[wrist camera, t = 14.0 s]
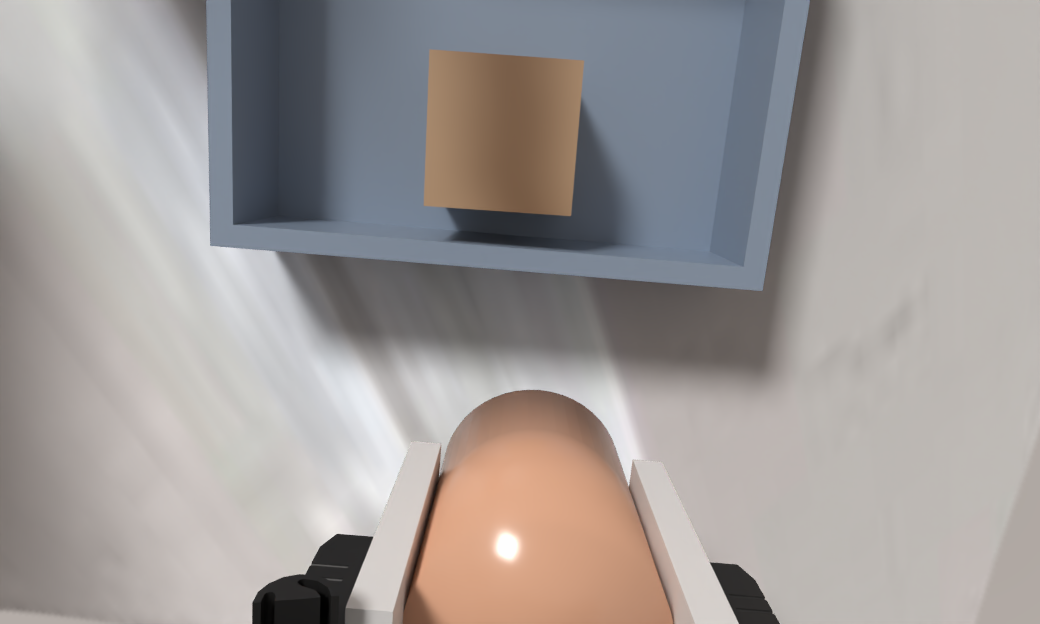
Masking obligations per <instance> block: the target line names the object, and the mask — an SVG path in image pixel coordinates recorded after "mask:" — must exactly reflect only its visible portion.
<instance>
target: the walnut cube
mask: <svg viewBox="0 0 1040 624" xmlns="http://www.w3.org/2000/svg"><path fill="white" fill-rule="evenodd" d="M583 69H584V60H570V59H557V58H543V57H529V56H515V55H501V54H487V53H473V52H460V51H446V50H432V49H429V76H428V103H427V129H426V156H425V183H424V206H432V207H447V208H461V209H475V210H489V211H504V212H518V213H532V214H547V215H561V216H571V211H572V199H573V187H574V175H575V163H576V152H577V140H578V128H579V116H580V104H581V92H582V81H583Z"/></svg>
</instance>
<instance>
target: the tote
mask: <svg viewBox="0 0 1040 624" xmlns="http://www.w3.org/2000/svg"><path fill="white" fill-rule="evenodd" d="M809 3H810V0H206V20H207V78H208V135H209V192H210V246H220V247H233V248H245V249H257V250H269V251H281V252H293V253H306V254H318V255H330V256H342V257H354V258H366V259H379V260H391V261H403V262H415V263H427V264H439V265H451V266H464V267H476V268H488V269H500V270H512V271H524V272H537V273H549V274H561V275H573V276H585V277H597V278H610V279H622V280H634V281H646V282H658V283H670V284H682V285H695V286H707V287H719V288H731V289H743V290H755V291H763V285H764V279H765V273H766V267H767V261H768V255H769V249H770V242H771V236H772V230H773V224H774V218H775V212H776V206H777V200H778V193H779V187H780V181H781V175H782V169H783V163H784V157H785V151H786V144H787V138H788V132H789V126H790V120H791V114H792V108H793V102H794V95H795V89H796V83H797V77H798V71H799V65H800V59H801V52H802V46H803V40H804V34H805V28H806V22H807V16H808V10H809ZM429 49H432V50H446V51H460V52H473V53H487V54H501V55H515V56H529V57H543V58H557V59H570V60H584V69H583V81H582V92H581V104H580V116H579V128H578V140H577V152H576V163H575V175H574V187H573V199H572V211H571V216H561V215H547V214H532V213H518V212H504V211H489V210H475V209H461V208H447V207H432V206H424V183H425V156H426V129H427V103H428V76H429Z"/></svg>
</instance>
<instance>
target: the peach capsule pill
mask: <svg viewBox="0 0 1040 624" xmlns="http://www.w3.org/2000/svg"><path fill="white" fill-rule="evenodd" d="M403 624H673V619H672V615H671V611H670V608H669V605H668V602H667V599H666V596H665V593H664V590H663V587H662V584H661V581H660V578H659V575H658V572H657V569H656V566H655V563H654V560H653V557H652V554H651V551H650V549H649V546H648V543H647V540H646V537H645V534H644V531H643V528H642V525H641V522H640V519H639V516H638V513H637V510H636V507H635V504H634V501H633V498H632V495H631V492H630V489H629V486H628V484H627V481H626V478H625V475H624V472H623V469H622V466H621V463H620V460H619V457H618V454H617V451H616V448H615V446H614V443H613V440H612V438H611V436H610V434H609V433H608V431H607V429H606V428H605V426H604V425H603V424H602V422H601V421H600V420H599V419H598V418H597V417H596V416H595V415H594V414H593V413H592V412H591V411H590V410H588V409H587V408H586V407H585V406H583V405H582V404H580V403H578V402H576V401H575V400H573V399H571V398H568V397H566V396H563V395H560V394H557V393H553V392H548V391H542V390H522V391H514V392H510V393H505V394H502V395H500V396H497V397H494V398H492V399H490V400H488V401H486V402H484V403H483V404H481V405H480V406H478V407H477V408H475V409H474V410H473V411H472V412H471V413H470V414H468V415H467V416H466V417H465V418H464V420H463V421H462V422H461V423H460V424H459V426H458V427H457V429H456V430H455V432H454V433H453V435H452V437H451V439H450V441H449V444H448V446H447V450H446V453H445V457H444V461H443V464H442V468H441V472H440V476H439V480H438V484H437V487H436V491H435V495H434V499H433V503H432V506H431V510H430V514H429V518H428V522H427V525H426V529H425V533H424V537H423V540H422V544H421V548H420V552H419V556H418V559H417V563H416V567H415V571H414V574H413V578H412V582H411V586H410V590H409V593H408V597H407V601H406V605H405V609H404V612H403Z"/></svg>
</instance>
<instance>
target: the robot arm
mask: <svg viewBox="0 0 1040 624" xmlns="http://www.w3.org/2000/svg"><path fill="white" fill-rule="evenodd" d="M440 454H441V443H429V442H417V441H411V444H410V447H409V449H408V452H407V454H406V457H405V459H404V462H403V464H402V467H401V469H400V472H399V474H398V477H397V479H396V482H395V484H394V487H393V489H392V492H391V494H390V497H389V499H388V502H387V504H386V507H385V509H384V512H383V515H382V517H381V520H380V522H379V525H378V527H377V530H376V532H375V535H374V537H368V536H356V535H344V534H336V535H335V536H334V537H332V538H331V539H330V540H328V541H327V542H326V543H324V544H323V545H322V546H321V547H320V548H319V550H318V552H317V554H316V556H315V557H314V559H313V561H312V565H311V566H310V567H309V569H308V571H307V573H306V575H301V574H299V575H293V576H288V577H283V578H281V579H278V580H276V581H274V582H271V583H269V584H268V585H266V586H265V587H264V588H263V589H261V590H260V591H259V592H258V593H257V595H256V597H255V599H254V601H253V611H252V624H403V612H404V609H405V605H406V601H407V597H408V593H409V590H410V586H411V582H412V578H413V574H414V571H415V567H416V563H417V559H418V556H419V552H420V548H421V544H422V540H423V537H424V533H425V529H426V525H427V522H428V518H429V514H430V510H431V506H432V503H433V499H434V495H435V491H436V487H437V484H438V480H439V468H440ZM629 489H630V492H631V495H632V498H633V501H634V504H635V507H636V510H637V513H638V516H639V519H640V522H641V525H642V528H643V531H644V534H645V537H646V540H647V543H648V546H649V549H650V551H651V554H652V557H653V560H654V563H655V566H656V569H657V572H658V575H659V578H660V581H661V584H662V587H663V590H664V593H665V596H666V599H667V602H668V605H669V608H670V611H671V615H672V619H673V624H780V623H779V622H778V620H777V618H776V616H775V615H774V614H772V609H771V607H770V606H769V604H768V602H767V600H765V597H764V595H763V593H762V591H761V590H760V588H759V586H758V584H757V583H756V581H755V580H754V579H753V578H752V577H751V576H750V575H749V574H747V573H746V572H745V571H744V570H743V569H742V568H741V567H739V566H738V565H735V564H723V563H710V562H709V560H708V558H707V556H706V554H705V551H704V549H703V547H702V545H701V543H700V541H699V539H698V537H697V535H696V532H695V530H694V528H693V526H692V524H691V522H690V520H689V518H688V516H687V514H686V511H685V509H684V507H683V505H682V503H681V501H680V499H679V497H678V495H677V492H676V490H675V488H674V486H673V484H672V482H671V480H670V478H669V476H668V473H667V471H666V469H665V467H664V465H663V463H662V462H656V461H644V460H633V462H632V470H631V477H630V485H629Z"/></svg>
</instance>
